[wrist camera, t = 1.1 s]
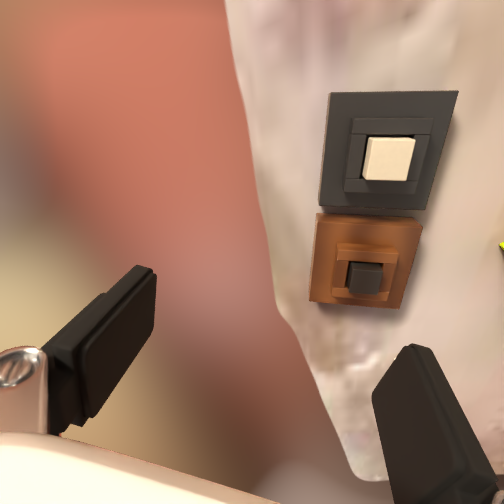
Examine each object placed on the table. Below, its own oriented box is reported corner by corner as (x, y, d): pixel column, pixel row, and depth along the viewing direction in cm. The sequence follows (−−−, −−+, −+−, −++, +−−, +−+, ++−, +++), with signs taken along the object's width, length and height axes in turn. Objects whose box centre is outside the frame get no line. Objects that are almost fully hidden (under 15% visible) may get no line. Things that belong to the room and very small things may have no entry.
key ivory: (409, 137, 23) (416, 139, 22) (400, 176, 25) (406, 181, 23) (368, 137, 24) (373, 139, 22) (362, 175, 25) (365, 179, 24)
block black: (447, 91, 24) (471, 89, 21) (417, 203, 29) (432, 216, 25) (328, 93, 26) (332, 91, 22) (317, 199, 30) (319, 211, 27)
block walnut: (413, 217, 30) (430, 234, 26) (392, 295, 34) (403, 319, 30) (316, 212, 31) (318, 228, 27) (308, 288, 36) (309, 310, 32)
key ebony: (379, 263, 28) (383, 271, 27) (374, 286, 30) (377, 295, 28) (350, 261, 29) (352, 269, 27) (346, 284, 30) (348, 292, 29)
